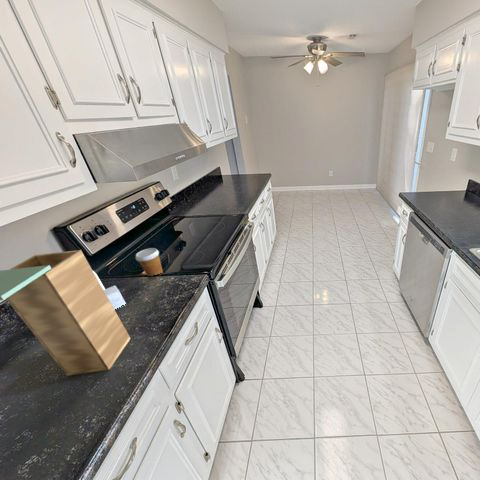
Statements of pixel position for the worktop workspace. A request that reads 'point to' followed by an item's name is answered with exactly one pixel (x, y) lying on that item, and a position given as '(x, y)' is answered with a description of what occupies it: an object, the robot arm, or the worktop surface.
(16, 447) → the worktop surface
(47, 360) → the worktop surface
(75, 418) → the worktop surface
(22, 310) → the tall bin
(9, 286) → the sliding top
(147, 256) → the disposable coffee cup
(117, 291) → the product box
